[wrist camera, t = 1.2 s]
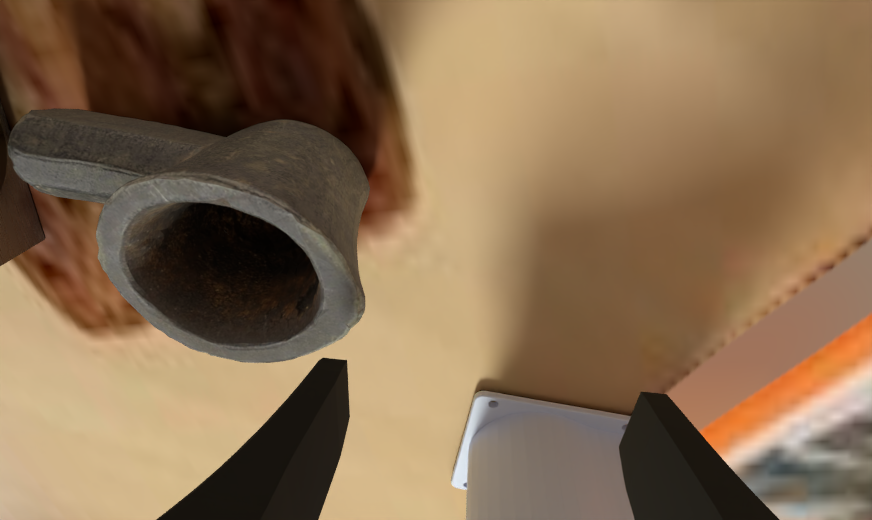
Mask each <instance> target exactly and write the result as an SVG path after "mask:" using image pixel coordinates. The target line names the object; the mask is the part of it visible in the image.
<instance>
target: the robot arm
mask: <svg viewBox="0 0 872 520" xmlns="http://www.w3.org/2000/svg"><path fill="white" fill-rule="evenodd" d="M491 401H496V402H491ZM349 417H350V414H349V393H348V372H347V360H338V359H329V358H322V359H321V360H319V361H318V362H317V364H316V365H315V366H314V367H313V369H312V370H311V371H310V372H309V374H308V375H307V376H306V377H305V379H304V380H303V381H302V382H301V383H300V385H299V386H298V387H297V388H296V389H295V390H294V392H293V393H292V394H291V395H290V396H289V397H288V399H287V400H286V401H285V402H284V403H283V404H282V405H281V406H280V407H279V409H278V410H277V411H276V412H275V413H274V414H273V415H272V416H271V417H270V418H269V419H268V421H267V422H266V423H265V424H264V425H263V426H262V427H261V428H260V429H259V430H258V431H257V432H256V433H255V434H254V435H253V436H252V437H251V438H250V439H249V440H248V441H247V442H246V443H245V444H244V445H243V446H242V447H241V448H240V449H239V450H238V451H237V452H236V453H235V454H234V455H233V456H232V457H231V458H229V459H228V460H227V461H226V462H225V463H224V464H223V465H222V466H221V467H220V468H219V469H217V470H216V471H215V472H214V473H213V474H212V475H211V476H209V477H208V478H207V479H206V480H205V481H204V482H203V483H201V484H200V485H199V486H198V487H197V488H196V489H194V490H193V491H192V492H191V493H189V494H188V495H187V496H186V497H184V498H183V499H182V500H181V501H179V502H178V503H177V504H176V505H174V506H173V507H172V508H171V509H169V510H168V511H167V512H166V513H164V514H163V515H162V516H161V517H159V518H158V519H157V520H318V519H319V516H320V513H321V510H322V507H323V505H324V502H325V499H326V496H327V493H328V490H329V488H330V485H331V482H332V479H333V476H334V473H335V471H336V468H337V465H338V462H339V459H340V456H341V452H342V448H343V443H344V439H345V435H346V431H347V426H348V422H349ZM625 424H627V425H625ZM451 484H452V485H453V486H454V487H455V488H459V489H465V490H467V497H466V520H779V519H778V518H777V517H776V516H775V515H774V514H773V513H772V511H771V510H770V509H769V508H768V507H767V506H766V505H765V504H764V503H763V502H762V501H761V500H760V499H759V498H758V497H757V496H756V495H755V494H754V493H753V492H752V491H751V490H750V489H749V488H748V487H747V485H746V484H745V483H744V482H743V481H742V480H741V479H740V478H739V477H738V476H737V475H736V474H735V472H734V471H733V470H732V469H731V468H730V467H729V466H728V465H727V464H726V462H725V461H724V460H723V459H722V458H721V457H720V456H719V455H718V453H717V452H716V451H715V450H714V449H713V448H712V447H711V445H710V444H709V443H708V442H707V441H706V440H705V438H704V437H703V436H702V435H701V434H700V433H699V431H698V430H697V429H696V428H695V427H694V426H693V424H692V423H691V422H690V421H689V420H688V419H687V417H686V416H685V415H684V414H683V413H682V412H681V410H680V409H679V408H678V407H677V406H676V405H675V403H674V402H673V401H672V400H671V399H670V398H669V397H668V395H667V394H658V393H649V392H641V393H640V395H639V398H638V400H637V403H636V405H635V408H634V410H633V413H632V415H631V416H627V415H622V414H616V413H610V412H604V411H599V410H593V409H587V408H581V407H576V406H570V405H564V404H558V403H553V402H547V401H541V400H535V399H530V398H524V397H518V396H513V395H507V394H501V393H495V392H490V391H479V392H477V393H476V394H475V395H474V399H473V402H472V406H471V409H470V413H469V416H468V420H467V423H466V427H465V431H464V434H463V438H462V441H461V445H460V448H459V452H458V455H457V459H456V463H455V466H454V470H453V473H452V477H451Z"/></svg>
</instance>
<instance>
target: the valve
mask: <svg viewBox="0 0 872 520" xmlns="http://www.w3.org/2000/svg"><path fill="white" fill-rule="evenodd" d="M10 134H11V131H10V128H9V125H8V122H7V119H6V116H5V113H4V109H3V106H2V103H1V100H0V266H1V265H3V264H5V263H6V262H8V261H10V260H11V259H13V258H15V257H16V256H18V255H20V254H21V253H23V252H25V251H26V250H28V249H30V248H31V247H33V246H35V245H36V244H38V243H40V242H41V241H43V240H45V237H44V234H43V231H42V228H41V225H40V222H39V219H38V215H37V212H36V209H35V206H34V203H33V200H32V197H31V194H30V190H29V187H28V184H27V182H25V181H23V180H22V179H21V178H20V177H19V176H18V175H17V173H16V172H15V170H14V168H13V165H14V163H13V161H12V160H11V158H10V157H9V155H8V141H9V138H10Z"/></svg>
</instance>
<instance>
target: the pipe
mask: <svg viewBox="0 0 872 520" xmlns="http://www.w3.org/2000/svg"><path fill="white" fill-rule="evenodd" d="M8 155H9V157H10V158H11V160H12V161H13V163H14V165H13V168H14V170H15V172H16V173H17V175H18V176H19V177H20V178H21V179H22V180H23V181H25V182H27V183H28V184H30V185H31V186H33V187H34V188H35V189H36V190H38V191H40V192H43V193H46V194H50V195H54V196H57V197H64V198H70V199H77V200H85V201H91V202H97V203H103V204H104V207H103V210H102V212H101V214H100V217H99V222H98V226H97V232H96V239H97V242H98V246H99V252H98V259H99V261H100V264H101V266H102V268H103V270H104V271H105V272H106V273H107V274H108V277H109V279H110V281H111V282H112V283H113V284H114V286H115V287H116V288H117V289H118V291H119V292H120V294H121V295H122V296H123V297H124V298H125V299H126V300H127V301H128V302H129V303H130V304H131V305H132V306H133V307H134V308H135V309H136V310H137V311H138V312H139V313H140V314H141V315H142V316H143V317H144V318H145V319H146V320H147V321H148V322H150V323H151V324H152V325H153V326H154V327H155V328H157V329H159V330H161V331H162V332H164V333H165V334H166V335H167V336H169V337H170V338H172V339H174V340H176V341H178V342H180V343H182V344H184V345H185V346H187V347H188V348H191V349H194V350H196V351H200V352H204V353H208V354H210V355H212V356H217V357H221V358H226V359H231V360H236V361H239V362H248V363H270V362H280V361H286V360H291V359H295V358H297V357H300V356H303V355H307V354H310V353H312V352H315V351H317V350H319V349H322V348H324V347H326V346H328V345H330V344H332V343H334V342H336V341H338V340H340V339H342V338H343V337H344V336H345V335H347V333H348V332H349V330H350V329H351V328H352V327H353V326H354V325H355V324H357V323H358V322H359V320H360V319H361V317H362V315H363V313H364V310H365V295H364V291H363V288H362V285H361V281H360V276H359V271H358V260H357V236H358V228H359V223H360V218H361V214H362V211H363V209H364V206H365V204H366V202H367V199H368V195H369V190H370V187H369V183H368V180H367V177H366V175H365V173H364V170H363V168H362V166H361V164H360V162H359V161H358V159H357V158H356V156H355V155H354V154H353V153H352V151H351V150H350V149H349V148H348V147H347V146H346V145H345V144H344V143H342V142H341V141H340V140H339V139H337V138H336V137H334V136H333V135H331V134H330V133H328V132H326V131H324V130H322V129H320V128H318V127H316V126H314V125H310V124H307V123H303V122H299V121H294V120H273V121H268V122H264V123H259V124H256V125H254V126H251V127H248V128H246V129H243V130H241V131H238V132H236V133H234V134H232V135H230V136H228V137H223V136H219V135H214V134H210V133H206V132H201V131H197V130H191V129H186V128H182V127H179V126H174V125H168V124H162V123H158V122H153V121H145V120H140V119H134V118H128V117H120V116H115V115H109V114H104V113H98V112H92V111H87V110H80V109H48V110H31V111H30V112H29V113H28V114H26V115H24V116H23V117H22V118H21V119H20V120H19V121H18V123H17V124H16V125H15V126H14V128H13V130H12V132H11V134H10V138H9V141H8Z"/></svg>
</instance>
